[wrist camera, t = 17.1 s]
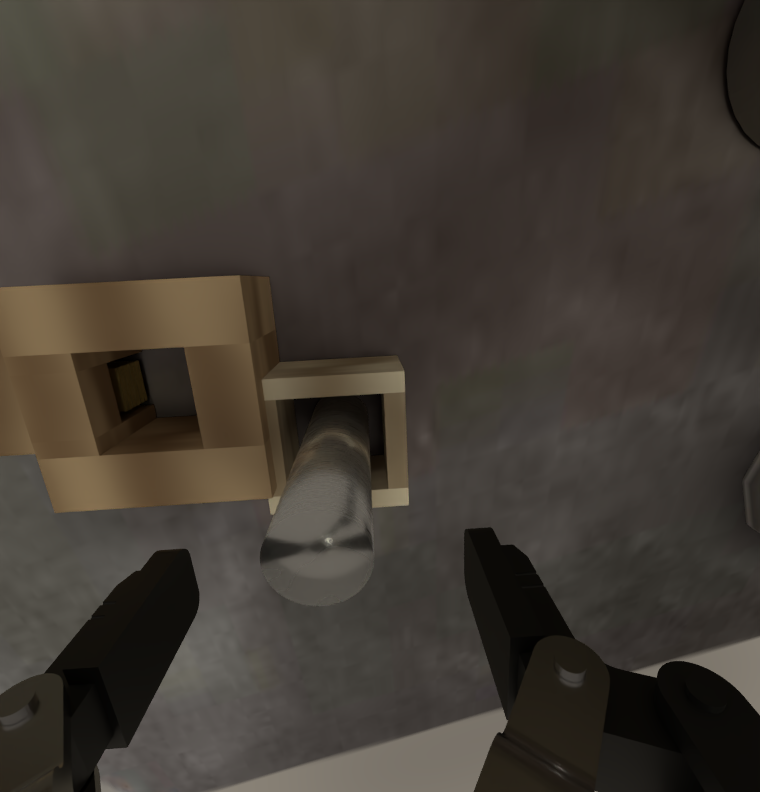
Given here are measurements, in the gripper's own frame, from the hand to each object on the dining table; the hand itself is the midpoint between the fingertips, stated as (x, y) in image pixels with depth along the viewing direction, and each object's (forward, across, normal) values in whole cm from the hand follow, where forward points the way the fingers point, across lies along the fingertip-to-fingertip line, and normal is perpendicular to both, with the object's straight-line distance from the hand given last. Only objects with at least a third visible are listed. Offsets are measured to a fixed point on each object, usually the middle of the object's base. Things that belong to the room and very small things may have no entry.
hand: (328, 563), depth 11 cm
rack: (+12, 0, 0) cm, 12 cm away
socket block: (+12, +10, -3) cm, 16 cm away
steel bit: (+12, 0, 0) cm, 12 cm away
